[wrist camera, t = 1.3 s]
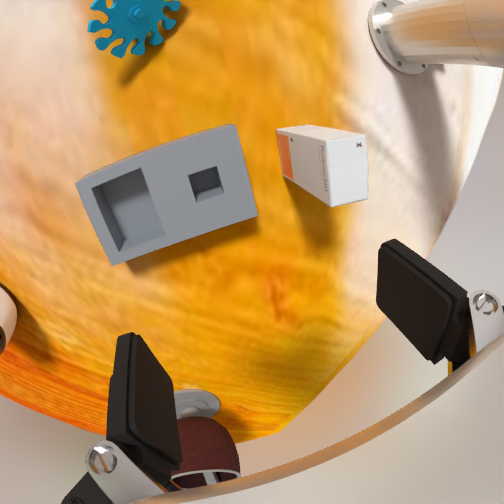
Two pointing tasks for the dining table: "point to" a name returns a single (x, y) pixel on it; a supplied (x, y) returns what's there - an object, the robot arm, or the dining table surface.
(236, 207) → the stand
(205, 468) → the mate gourd
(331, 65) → the dining table surface
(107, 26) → the gear
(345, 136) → the skincare box
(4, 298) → the spread jar
